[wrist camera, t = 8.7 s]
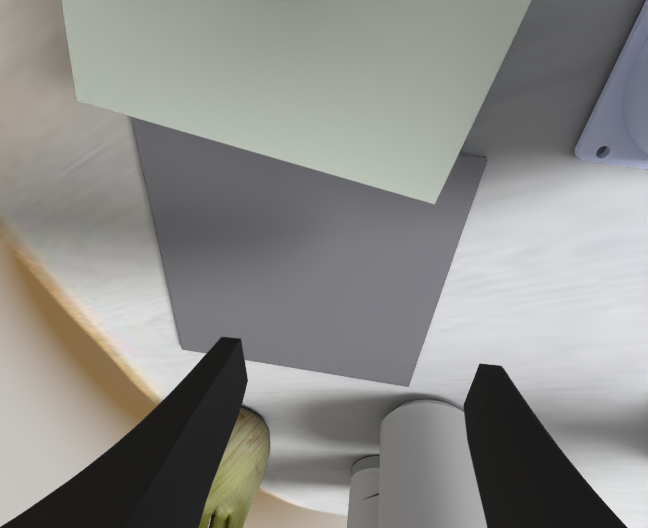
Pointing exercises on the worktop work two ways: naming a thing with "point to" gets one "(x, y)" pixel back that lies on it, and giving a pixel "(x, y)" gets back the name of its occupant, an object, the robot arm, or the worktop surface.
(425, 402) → the can
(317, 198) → the mat
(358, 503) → the travel mug
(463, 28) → the lid
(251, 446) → the fennel bulb
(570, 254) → the worktop surface
